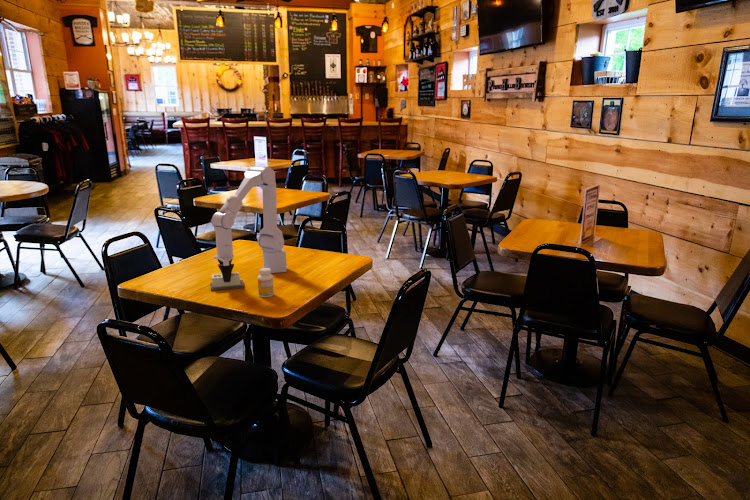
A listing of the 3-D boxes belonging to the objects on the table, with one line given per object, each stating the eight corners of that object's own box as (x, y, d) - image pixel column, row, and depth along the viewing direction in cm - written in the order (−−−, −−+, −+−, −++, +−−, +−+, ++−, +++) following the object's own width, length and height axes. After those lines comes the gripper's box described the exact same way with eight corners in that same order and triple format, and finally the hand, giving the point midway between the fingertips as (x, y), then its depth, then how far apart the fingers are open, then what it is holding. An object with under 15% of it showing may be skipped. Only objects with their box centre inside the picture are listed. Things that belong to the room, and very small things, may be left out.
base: (242, 282, 196) (242, 271, 195) (244, 287, 190) (243, 276, 189) (210, 285, 193) (209, 273, 191) (210, 290, 186) (209, 279, 185)
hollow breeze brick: (239, 281, 195) (238, 272, 194) (240, 284, 190) (239, 276, 189) (212, 283, 192) (211, 274, 191) (212, 287, 187) (211, 278, 186)
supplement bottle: (259, 292, 185) (258, 267, 182) (274, 292, 185) (273, 267, 183) (257, 297, 179) (256, 271, 177) (272, 297, 180) (271, 271, 178)
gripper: (212, 240, 192) (215, 274, 196) (213, 249, 179) (216, 285, 183) (231, 239, 195) (234, 272, 198) (233, 248, 181) (236, 284, 185)
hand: (226, 279), depth 190 cm, fingers open, 7 cm apart
